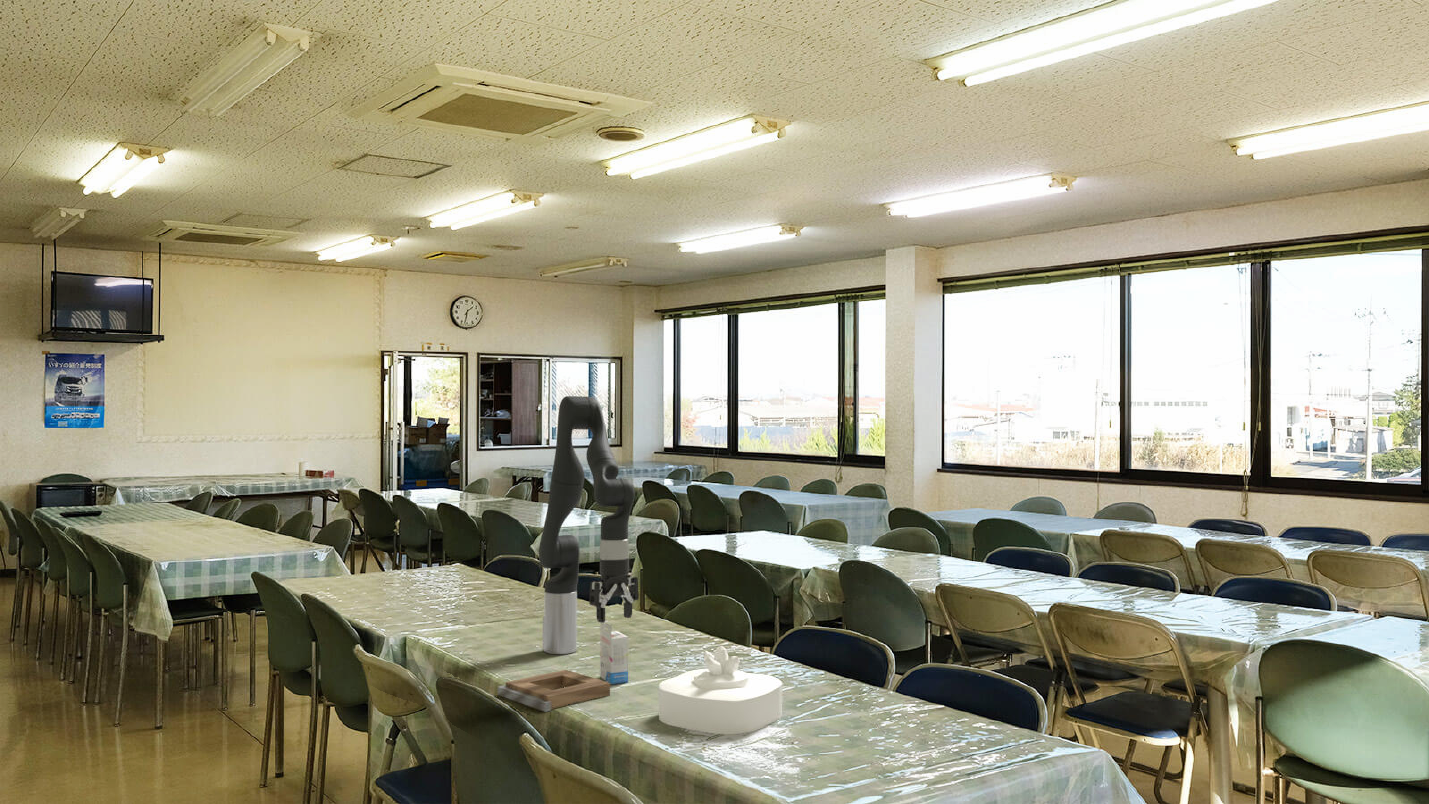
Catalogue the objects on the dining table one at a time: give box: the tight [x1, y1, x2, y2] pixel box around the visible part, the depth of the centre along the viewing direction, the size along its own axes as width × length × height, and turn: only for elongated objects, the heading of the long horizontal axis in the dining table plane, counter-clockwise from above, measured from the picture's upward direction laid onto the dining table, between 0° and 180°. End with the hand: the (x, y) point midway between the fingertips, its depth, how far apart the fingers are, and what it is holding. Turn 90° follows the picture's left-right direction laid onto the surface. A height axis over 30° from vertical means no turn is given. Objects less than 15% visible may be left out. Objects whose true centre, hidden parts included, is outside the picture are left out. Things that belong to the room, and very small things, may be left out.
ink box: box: [599, 621, 629, 685], centre depth 268 cm, size 8×5×15 cm, turn 26°
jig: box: [497, 669, 611, 713], centre depth 253 cm, size 20×20×3 cm
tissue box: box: [658, 645, 783, 735], centre depth 237 cm, size 25×25×16 cm
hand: (614, 619), depth 268 cm, fingers open, 8 cm apart
